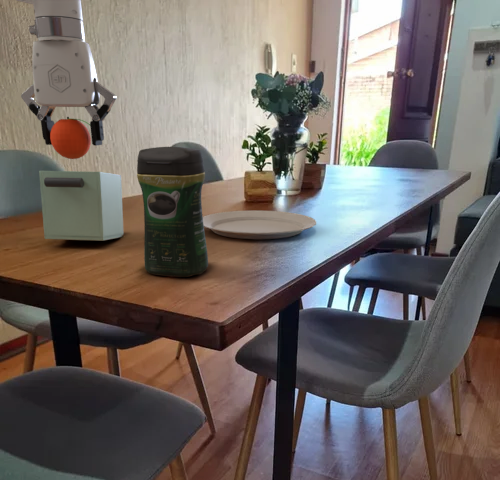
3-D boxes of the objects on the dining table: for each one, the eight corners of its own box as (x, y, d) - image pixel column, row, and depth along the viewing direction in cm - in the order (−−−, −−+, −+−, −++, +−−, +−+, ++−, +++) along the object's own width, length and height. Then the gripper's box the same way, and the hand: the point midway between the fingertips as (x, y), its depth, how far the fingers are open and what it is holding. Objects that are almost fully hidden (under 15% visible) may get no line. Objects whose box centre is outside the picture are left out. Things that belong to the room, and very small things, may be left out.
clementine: (102, 157, 96) (98, 117, 93) (93, 160, 90) (89, 117, 87) (59, 157, 96) (54, 116, 93) (47, 160, 89) (41, 116, 87)
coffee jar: (214, 267, 83) (211, 146, 75) (195, 281, 76) (190, 148, 68) (160, 262, 85) (152, 144, 78) (137, 275, 78) (126, 147, 71)
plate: (327, 242, 100) (327, 232, 99) (196, 243, 98) (196, 233, 97) (305, 218, 123) (305, 210, 123) (199, 219, 122) (199, 210, 121)
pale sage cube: (96, 241, 90) (92, 170, 87) (35, 240, 90) (29, 169, 87) (123, 236, 103) (121, 175, 100) (70, 235, 104) (66, 174, 101)
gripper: (-1, 30, 82) (17, 145, 89) (103, 29, 81) (114, 146, 88) (22, 36, 89) (38, 143, 96) (119, 36, 88) (127, 144, 95)
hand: (74, 144), depth 92 cm, fingers closed on clementine, 8 cm apart
